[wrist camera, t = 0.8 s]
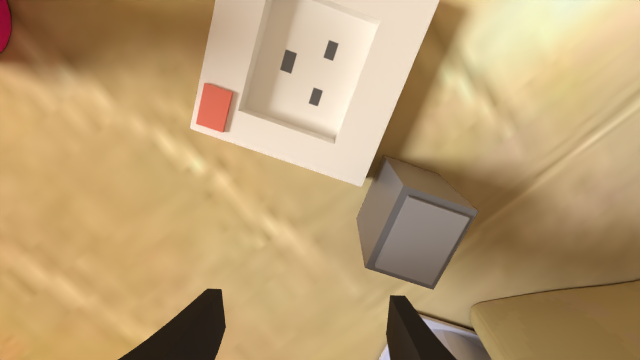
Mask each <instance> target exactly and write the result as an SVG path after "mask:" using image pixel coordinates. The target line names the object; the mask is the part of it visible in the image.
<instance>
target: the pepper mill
mask: <svg viewBox="0 0 640 360" xmlns="http://www.w3.org/2000/svg"><path fill="white" fill-rule="evenodd" d="M10 33H11V15H10V11H9V7H8V3H7V0H0V52H1V51H2V50H3V49H4V48H5V47H6V45H7V42H8V39H9V36H10Z"/></svg>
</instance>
